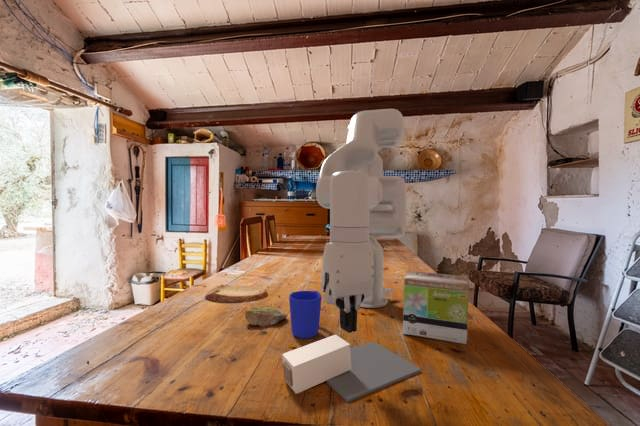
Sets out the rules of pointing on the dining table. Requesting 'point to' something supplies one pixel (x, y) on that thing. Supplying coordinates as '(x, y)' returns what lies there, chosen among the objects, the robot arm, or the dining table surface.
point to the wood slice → (236, 293)
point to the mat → (371, 371)
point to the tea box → (436, 306)
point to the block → (316, 363)
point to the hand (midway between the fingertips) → (348, 329)
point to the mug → (305, 313)
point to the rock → (264, 316)
